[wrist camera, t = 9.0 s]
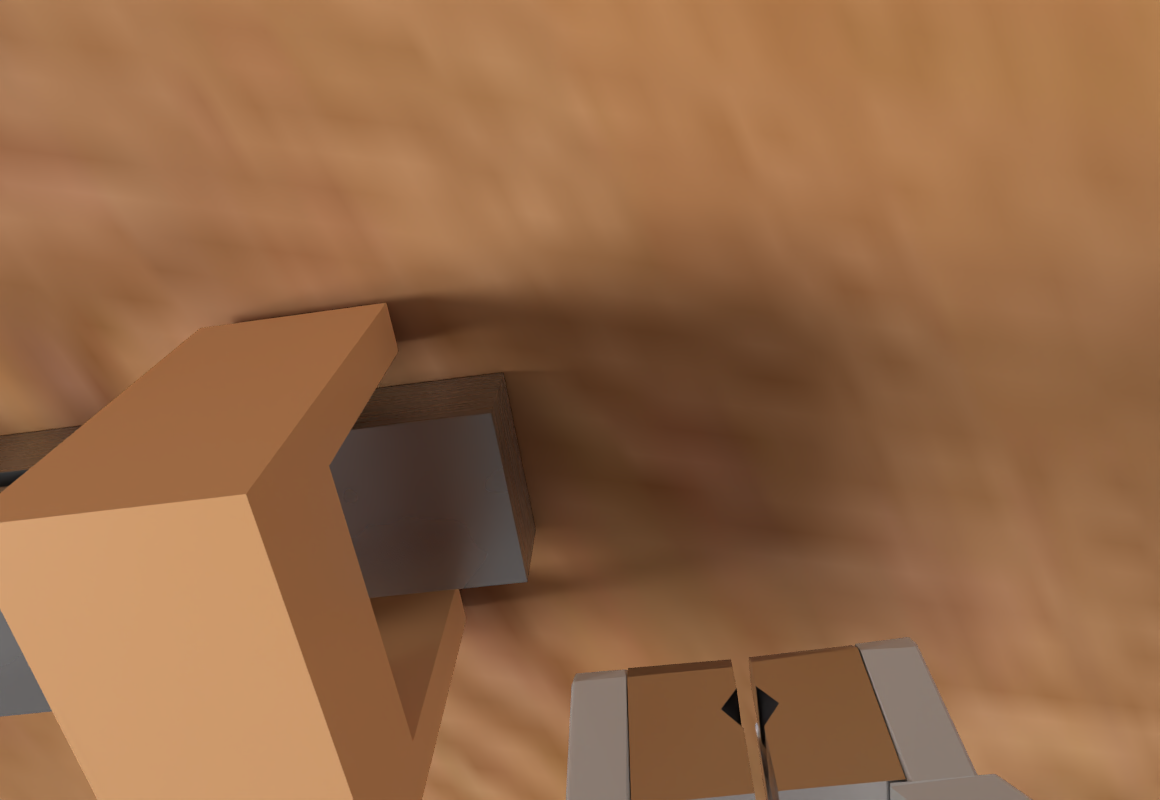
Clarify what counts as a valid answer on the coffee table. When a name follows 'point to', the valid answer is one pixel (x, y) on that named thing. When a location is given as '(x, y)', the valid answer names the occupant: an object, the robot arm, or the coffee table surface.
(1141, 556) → the coffee table surface
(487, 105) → the coffee table surface
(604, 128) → the coffee table surface
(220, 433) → the tan hook block
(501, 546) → the tongs lower arm
